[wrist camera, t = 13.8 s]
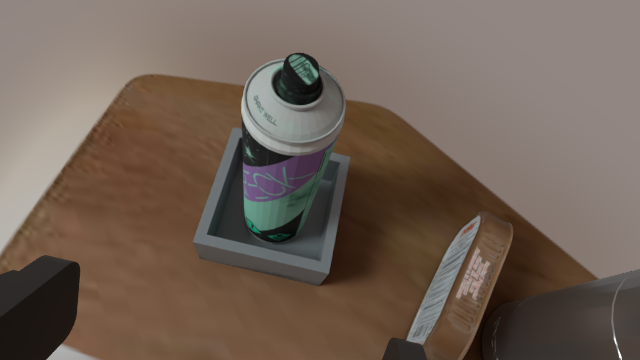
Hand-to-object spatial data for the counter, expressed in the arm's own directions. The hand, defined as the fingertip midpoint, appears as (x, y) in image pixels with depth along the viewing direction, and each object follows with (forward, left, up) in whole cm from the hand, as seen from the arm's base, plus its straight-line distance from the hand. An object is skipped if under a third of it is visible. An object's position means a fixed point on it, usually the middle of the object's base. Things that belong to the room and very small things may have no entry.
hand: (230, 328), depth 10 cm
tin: (-16, -8, -24) cm, 30 cm away
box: (0, -12, -24) cm, 27 cm away
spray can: (0, -12, -23) cm, 26 cm away
